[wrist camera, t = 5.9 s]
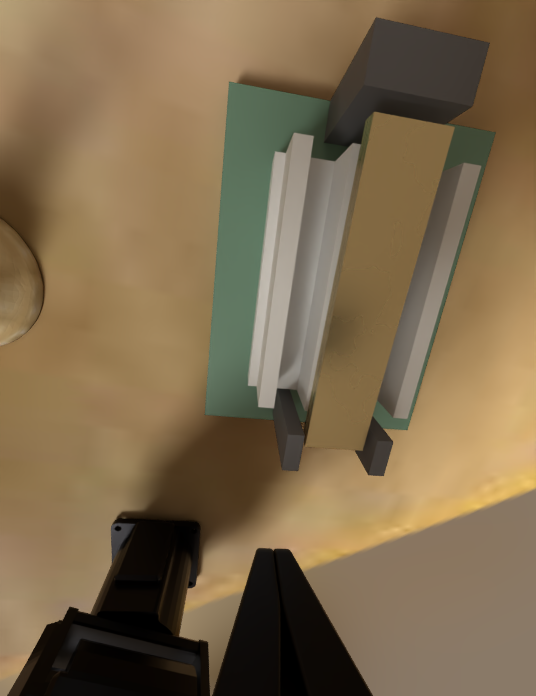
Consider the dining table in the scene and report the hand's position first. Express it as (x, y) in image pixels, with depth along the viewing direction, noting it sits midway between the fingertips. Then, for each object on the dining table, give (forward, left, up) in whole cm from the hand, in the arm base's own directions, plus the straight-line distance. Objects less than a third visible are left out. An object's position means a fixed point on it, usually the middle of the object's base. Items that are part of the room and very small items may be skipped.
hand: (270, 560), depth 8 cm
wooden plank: (+6, -4, -8) cm, 10 cm away
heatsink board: (+6, -4, -13) cm, 15 cm away
